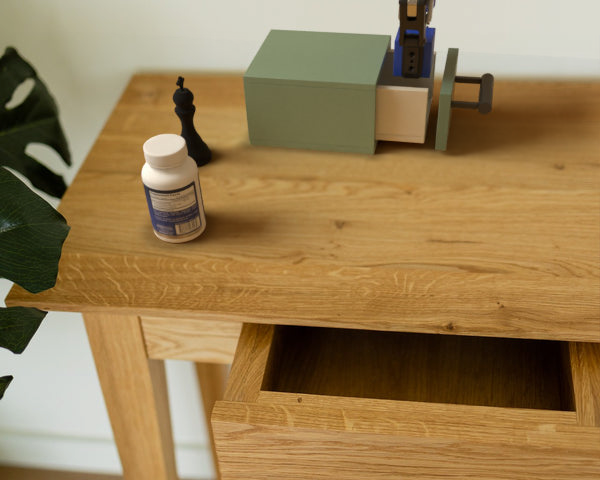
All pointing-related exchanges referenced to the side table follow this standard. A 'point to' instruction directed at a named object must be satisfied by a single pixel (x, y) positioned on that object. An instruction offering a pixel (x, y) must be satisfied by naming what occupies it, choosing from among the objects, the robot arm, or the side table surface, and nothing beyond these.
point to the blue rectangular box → (426, 56)
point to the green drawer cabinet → (315, 90)
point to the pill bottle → (172, 189)
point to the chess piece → (190, 124)
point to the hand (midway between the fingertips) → (413, 66)
